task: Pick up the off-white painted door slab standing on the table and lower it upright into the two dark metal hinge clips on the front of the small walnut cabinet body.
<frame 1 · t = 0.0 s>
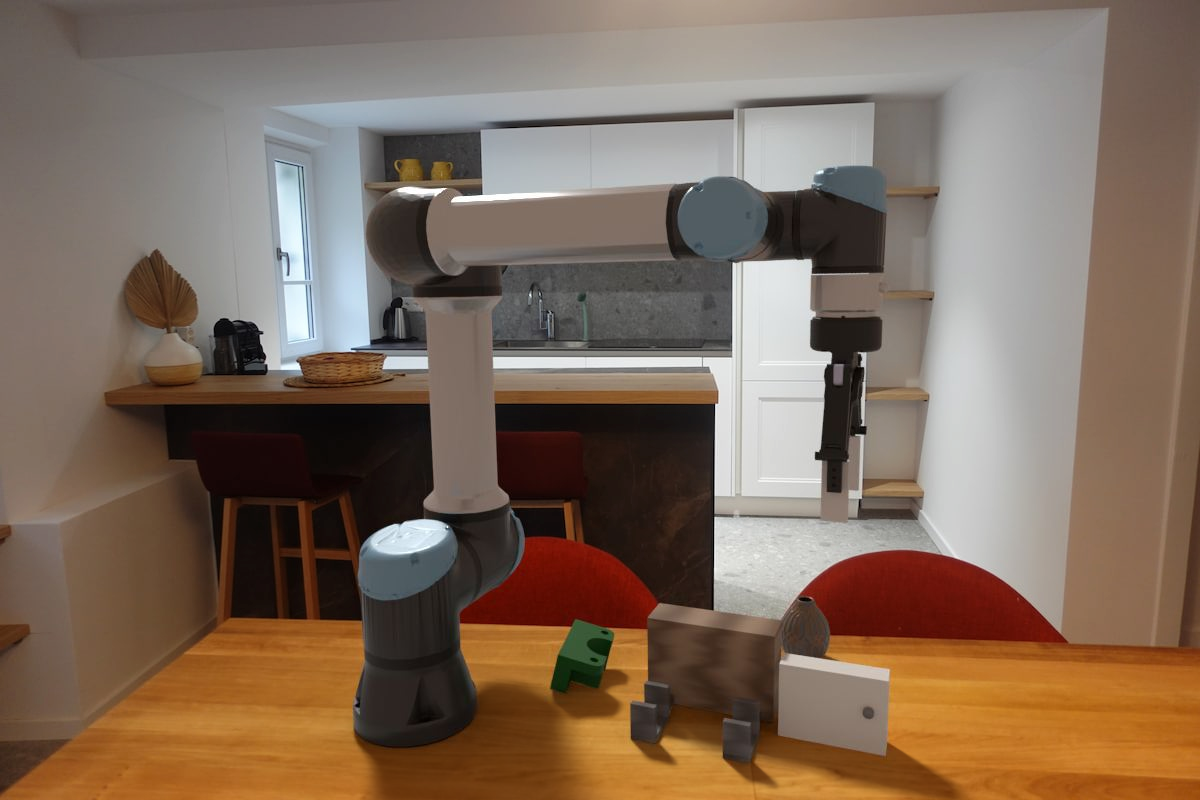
hand: (840, 504, 91), 28 cm above the table, fingers open, 13 cm apart
clamp: (584, 679, 110), on the table
vase: (804, 659, 115), on the table
door: (832, 739, 95), on the table
cabinet: (713, 700, 103), on the table
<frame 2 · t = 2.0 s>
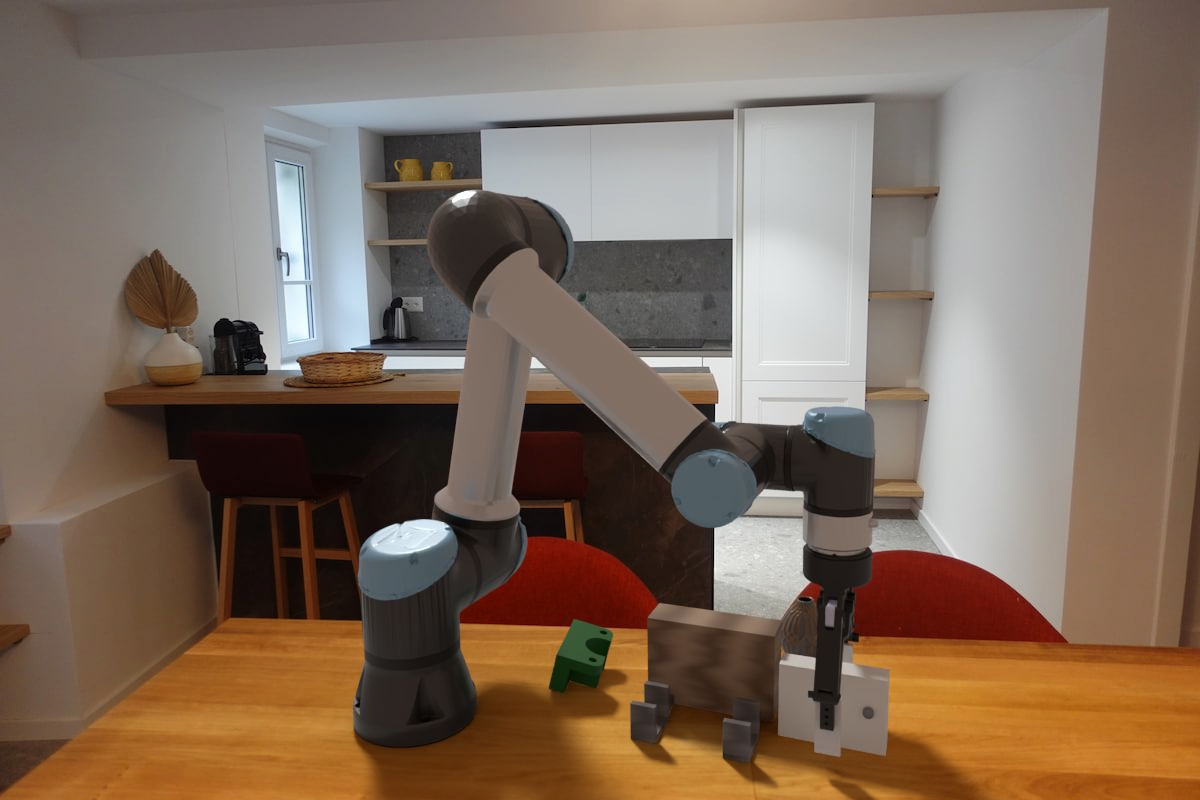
hand: (834, 721, 94), 2 cm above the table, fingers open, 13 cm apart
nothing on the table moved.
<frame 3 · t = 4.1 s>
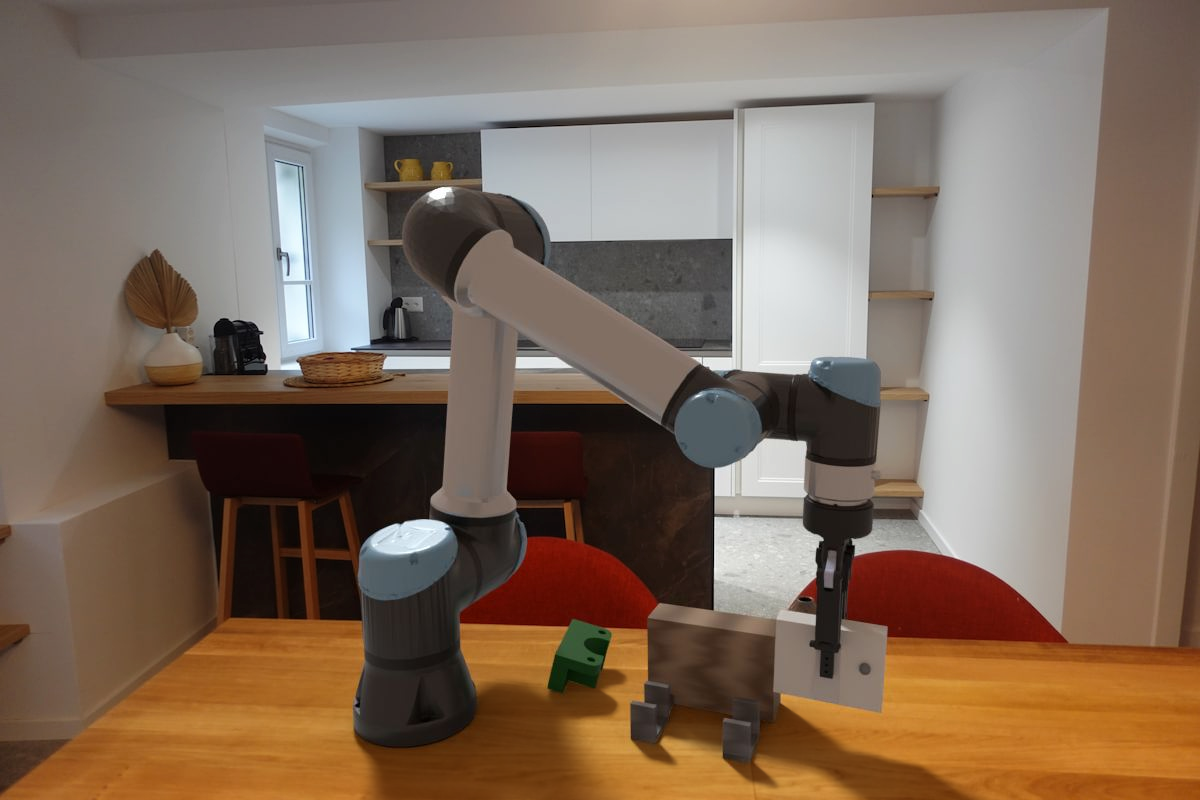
hand: (827, 692, 94), 6 cm above the table, fingers closed on door, 3 cm apart
door: (827, 695, 94), point 5 cm above the table, touching gripper
everything else where it was.
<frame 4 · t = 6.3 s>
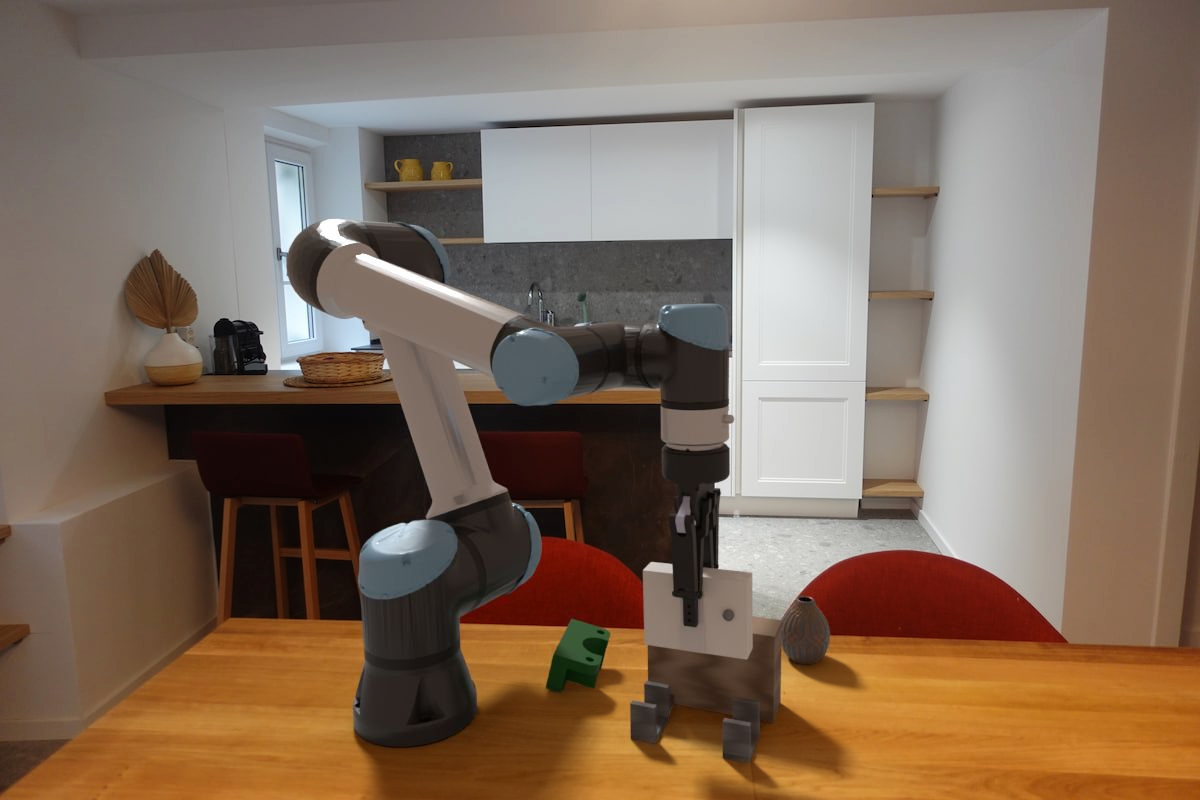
hand: (697, 643, 93), 12 cm above the table, fingers closed on door, 3 cm apart
door: (698, 646, 93), point 11 cm above the table, touching gripper
everything else where it was.
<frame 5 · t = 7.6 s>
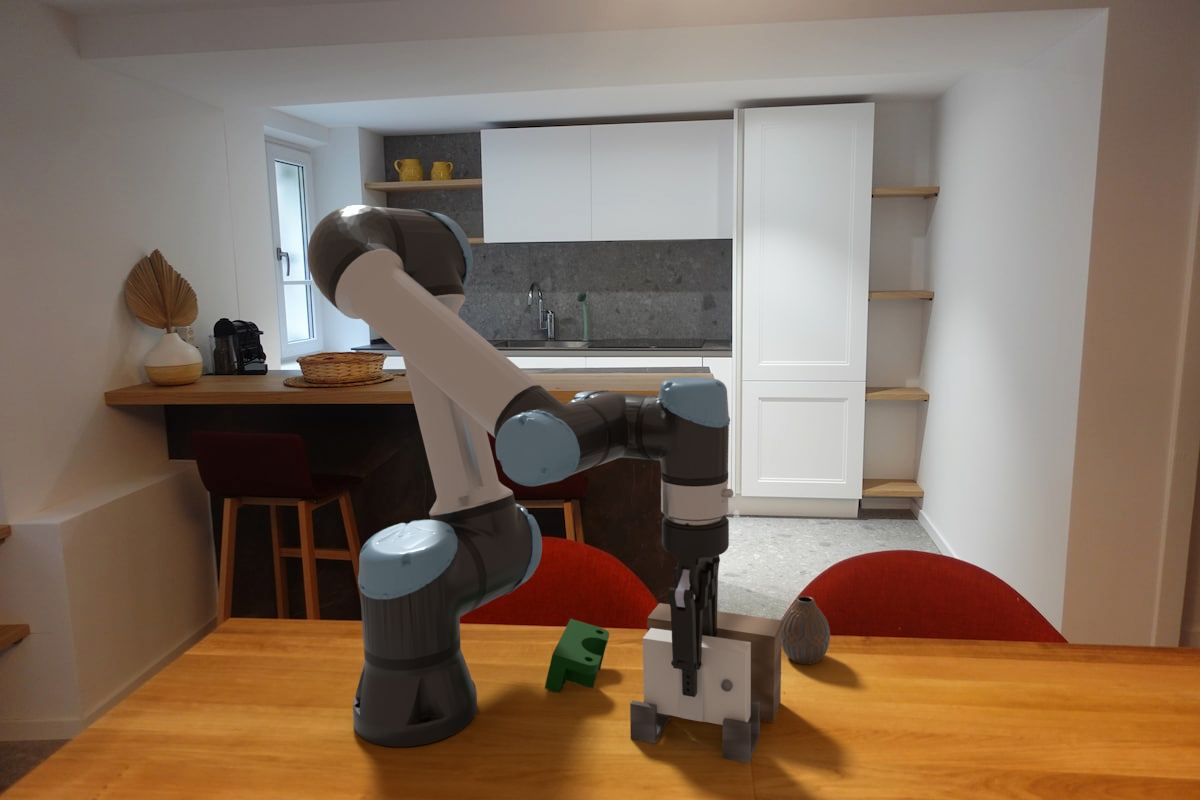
hand: (696, 709, 95), 4 cm above the table, fingers closed on door, 3 cm apart
door: (696, 713, 95), point 3 cm above the table, touching gripper
everything else where it was.
when the fingers open (0 cm above the table, at t = 8.4 s): door stays where it is, resting on cabinet.
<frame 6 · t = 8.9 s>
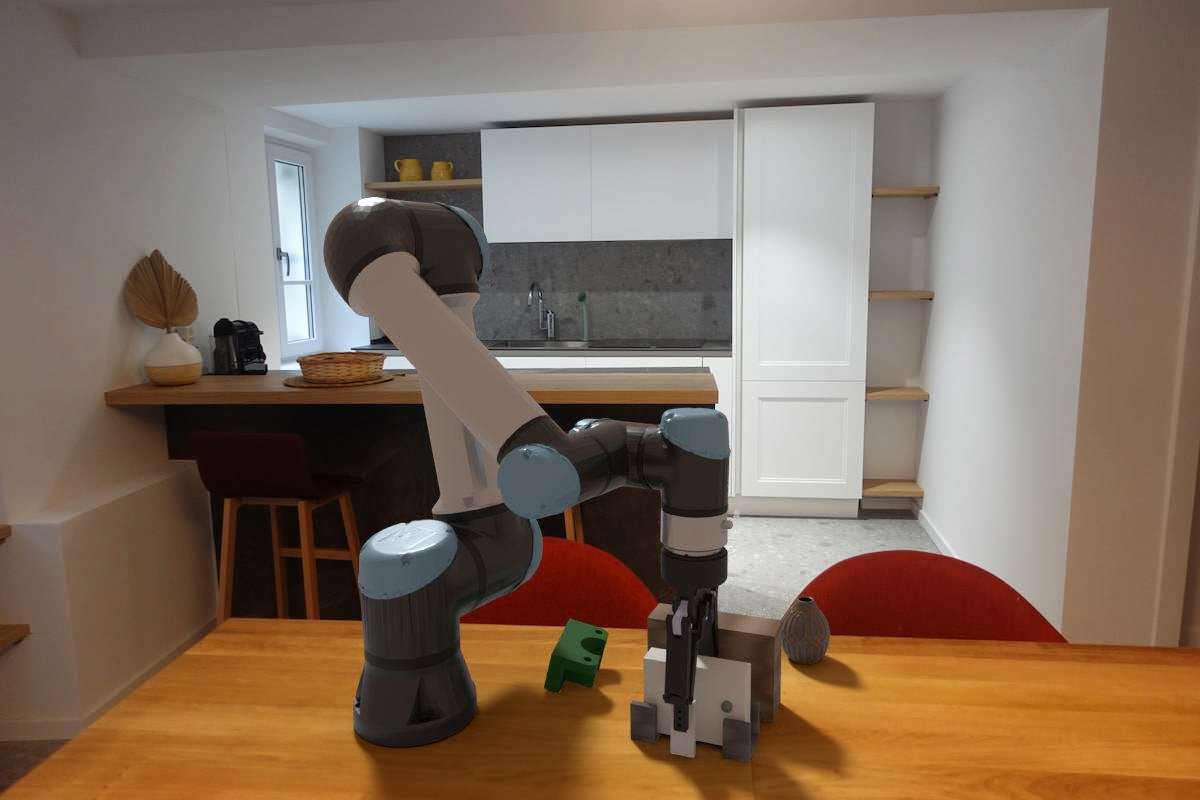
hand: (692, 736, 94), 1 cm above the table, fingers open, 7 cm apart
door: (696, 732, 95), point 1 cm above the table, touching cabinet
everything else where it was.
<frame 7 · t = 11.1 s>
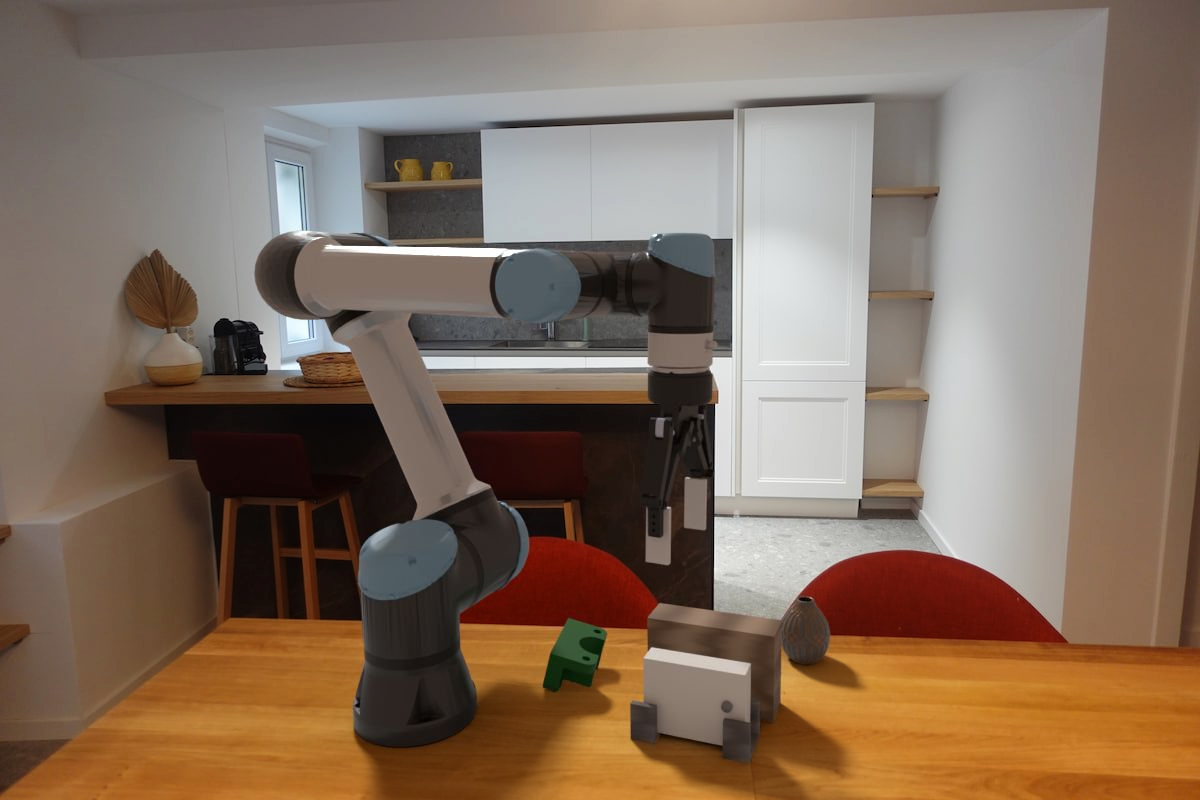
hand: (677, 544, 97), 22 cm above the table, fingers open, 13 cm apart
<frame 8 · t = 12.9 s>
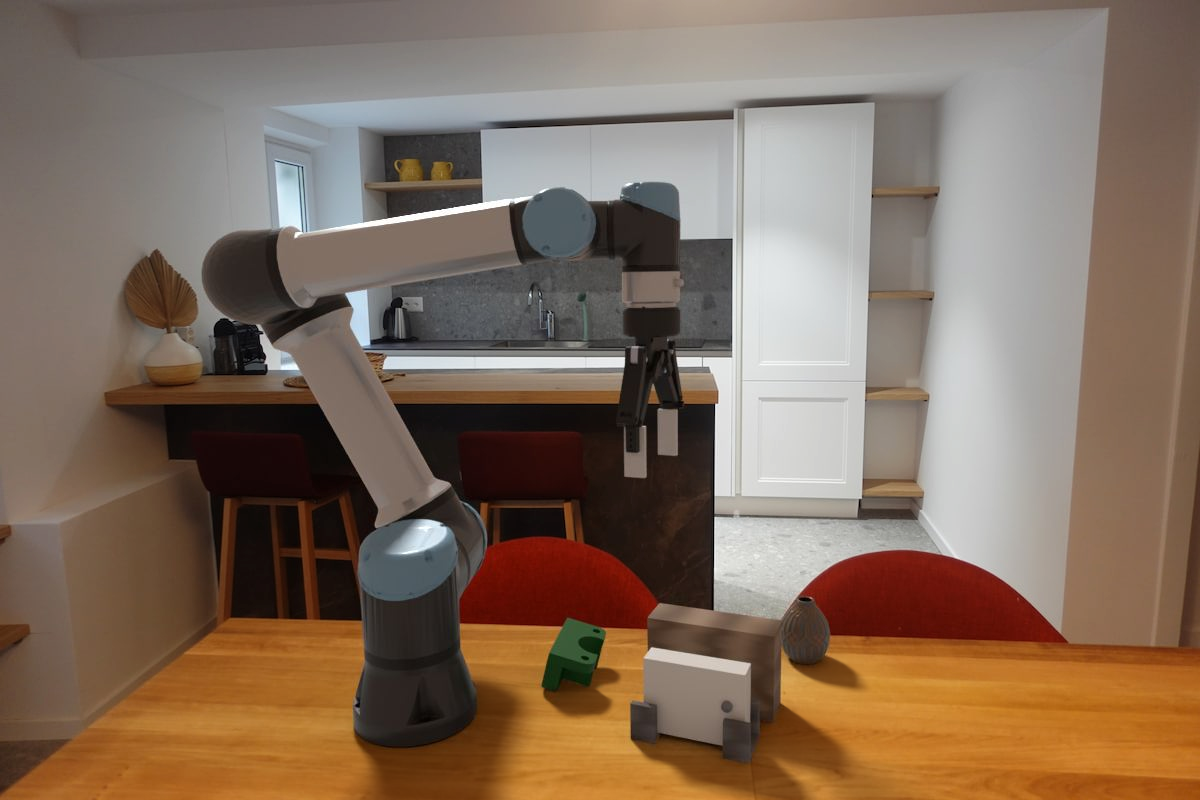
hand: (652, 465, 108), 29 cm above the table, fingers open, 13 cm apart
at the end: door 0.2 cm from the target spot on the cabinet, point 0.6 cm above the cabinet's base; door tilted 0°; the gripper is holding nothing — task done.
